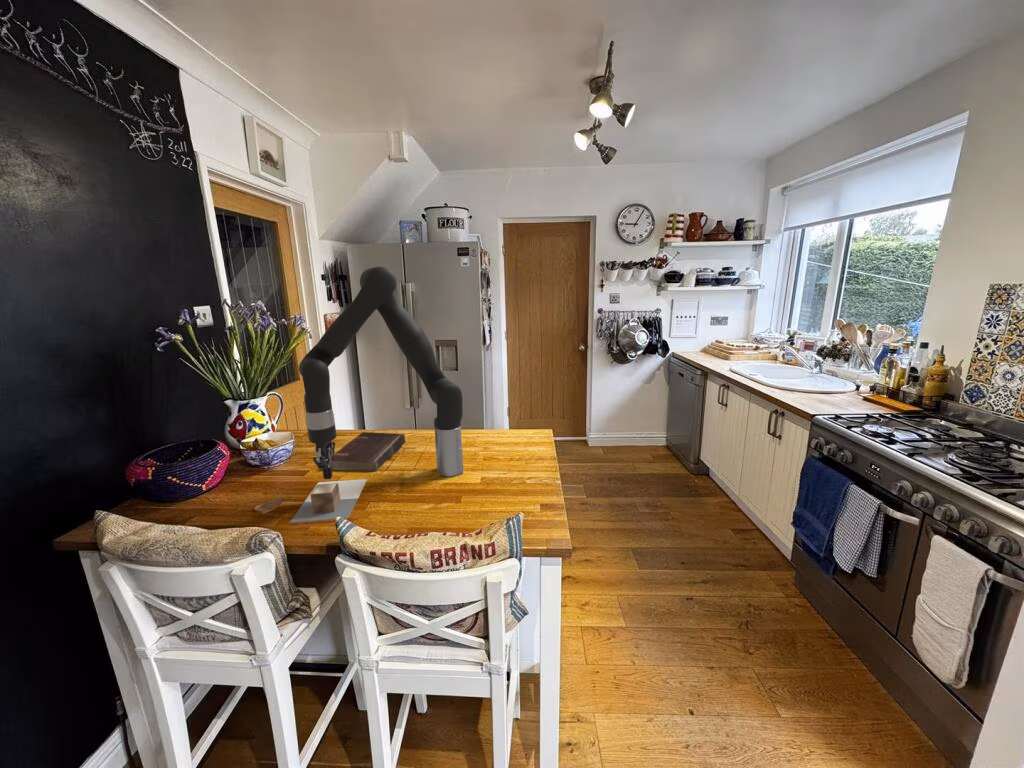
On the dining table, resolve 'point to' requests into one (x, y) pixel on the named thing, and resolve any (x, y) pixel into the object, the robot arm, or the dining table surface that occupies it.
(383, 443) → the hardback book
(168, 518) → the dining table surface
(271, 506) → the shard
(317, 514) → the board
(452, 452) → the robot arm
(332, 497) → the walnut cube
